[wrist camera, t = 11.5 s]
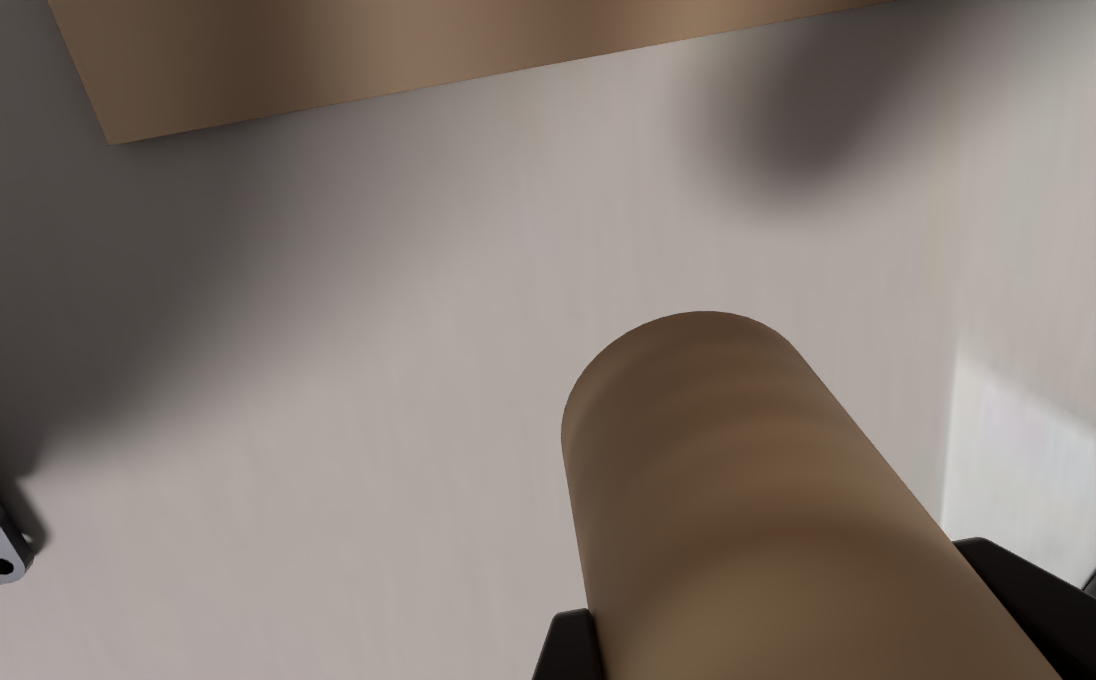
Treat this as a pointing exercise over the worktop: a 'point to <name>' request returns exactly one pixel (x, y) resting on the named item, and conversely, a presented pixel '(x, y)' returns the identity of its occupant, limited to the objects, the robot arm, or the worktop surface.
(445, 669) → the worktop surface
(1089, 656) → the robot arm
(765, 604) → the dowel
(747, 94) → the worktop surface
